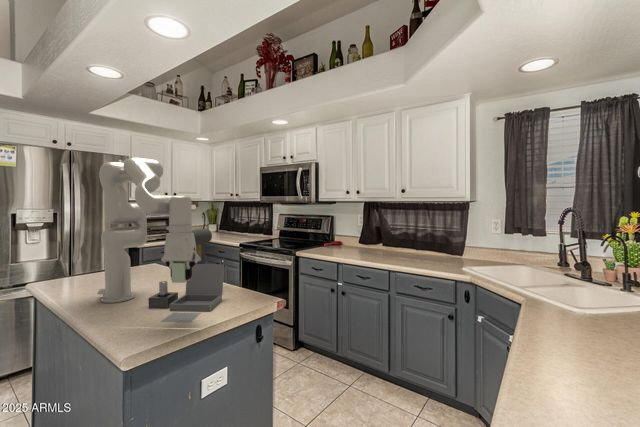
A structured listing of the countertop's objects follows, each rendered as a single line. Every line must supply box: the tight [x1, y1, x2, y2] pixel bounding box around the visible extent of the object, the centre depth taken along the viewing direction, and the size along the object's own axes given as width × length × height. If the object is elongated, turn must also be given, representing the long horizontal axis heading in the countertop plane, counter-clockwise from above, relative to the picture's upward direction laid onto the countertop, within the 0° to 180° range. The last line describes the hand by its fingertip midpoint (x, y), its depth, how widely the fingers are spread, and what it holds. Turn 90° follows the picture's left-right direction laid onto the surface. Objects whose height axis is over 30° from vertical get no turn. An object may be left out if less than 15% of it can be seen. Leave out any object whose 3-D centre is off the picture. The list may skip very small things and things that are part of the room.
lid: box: [185, 263, 225, 296], centre depth 134 cm, size 16×13×1 cm
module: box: [171, 261, 190, 284], centre depth 112 cm, size 4×5×7 cm
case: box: [169, 293, 223, 312], centre depth 126 cm, size 16×13×3 cm
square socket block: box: [148, 291, 179, 309], centre depth 126 cm, size 8×8×4 cm
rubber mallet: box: [192, 228, 213, 264], centre depth 148 cm, size 12×8×30 cm, turn 159°
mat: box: [160, 312, 202, 323], centre depth 113 cm, size 11×9×1 cm
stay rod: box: [158, 280, 169, 297], centre depth 126 cm, size 3×3×10 cm
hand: (181, 278), depth 112 cm, fingers closed on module, 4 cm apart
